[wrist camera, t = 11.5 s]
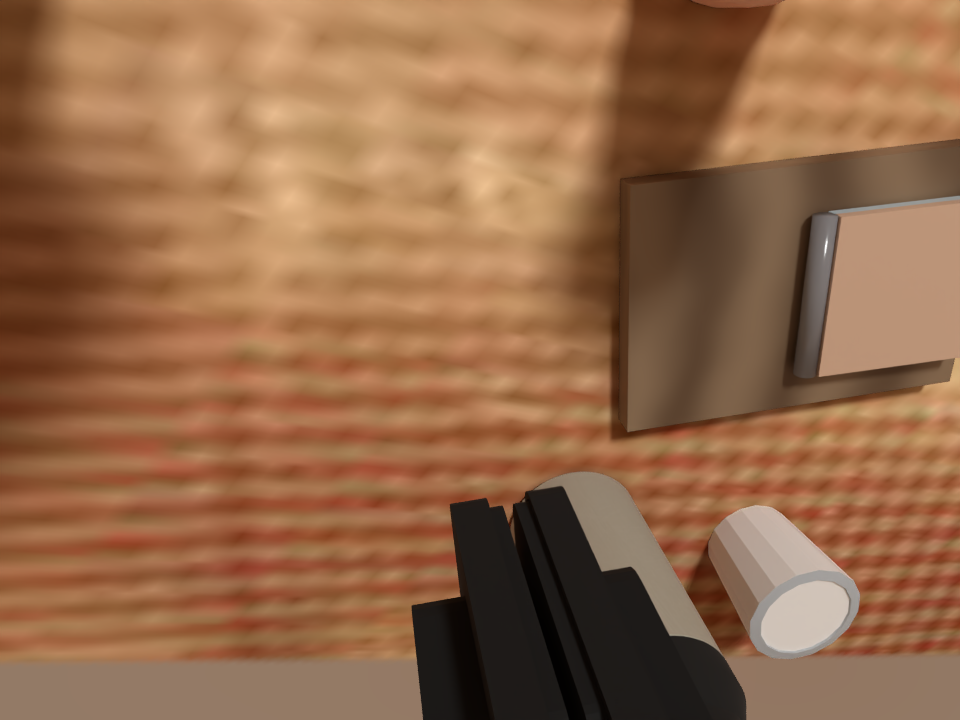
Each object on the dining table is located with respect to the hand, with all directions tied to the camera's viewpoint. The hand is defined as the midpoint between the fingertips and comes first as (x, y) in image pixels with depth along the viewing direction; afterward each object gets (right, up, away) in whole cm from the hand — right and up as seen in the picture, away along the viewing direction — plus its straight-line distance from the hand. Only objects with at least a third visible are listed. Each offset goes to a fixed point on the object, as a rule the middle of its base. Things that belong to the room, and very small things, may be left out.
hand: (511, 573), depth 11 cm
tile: (+22, +7, +28) cm, 36 cm away
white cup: (+17, -9, +38) cm, 43 cm away
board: (+17, +7, +30) cm, 35 cm away
